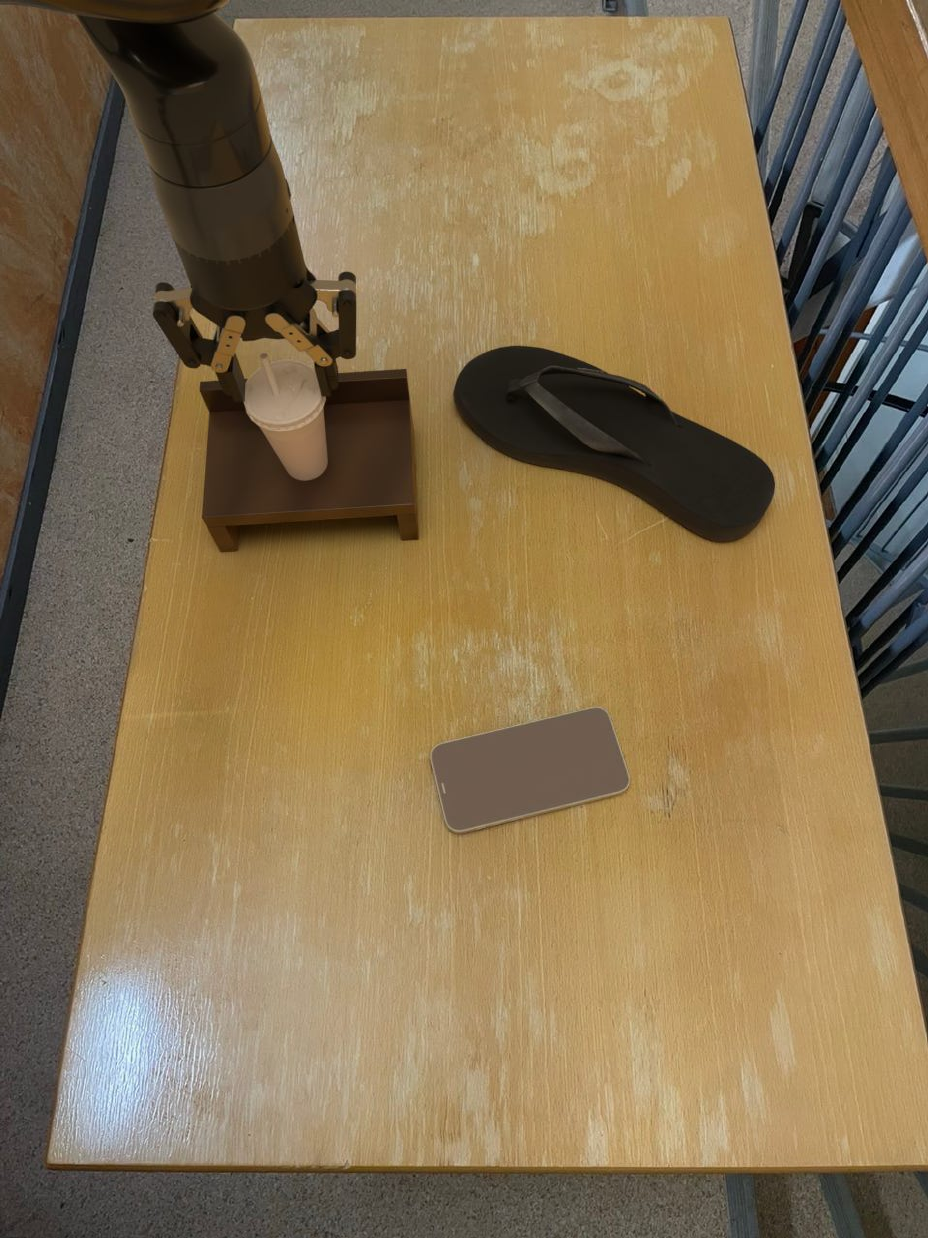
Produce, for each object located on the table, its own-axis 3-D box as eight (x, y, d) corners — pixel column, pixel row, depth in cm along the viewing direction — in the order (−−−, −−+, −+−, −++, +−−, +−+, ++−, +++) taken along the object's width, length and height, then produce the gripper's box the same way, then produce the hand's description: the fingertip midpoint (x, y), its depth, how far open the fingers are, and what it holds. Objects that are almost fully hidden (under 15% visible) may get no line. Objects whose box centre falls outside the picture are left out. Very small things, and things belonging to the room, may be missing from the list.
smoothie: (255, 459, 80) (209, 349, 67) (314, 420, 82) (280, 304, 69) (298, 507, 78) (258, 401, 65) (358, 465, 79) (331, 354, 67)
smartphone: (634, 789, 72) (448, 835, 71) (632, 792, 73) (448, 838, 72) (605, 703, 75) (427, 745, 74) (604, 706, 76) (427, 748, 75)
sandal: (747, 556, 82) (768, 517, 76) (432, 439, 88) (428, 394, 82) (789, 448, 86) (811, 403, 80) (487, 344, 92) (487, 295, 86)
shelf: (220, 552, 83) (190, 498, 75) (226, 442, 88) (199, 381, 80) (418, 539, 83) (411, 484, 75) (413, 431, 88) (406, 368, 80)
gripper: (104, 264, 54) (187, 436, 69) (348, 249, 54) (378, 424, 69) (116, 174, 57) (194, 357, 72) (347, 160, 57) (376, 346, 73)
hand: (284, 389), depth 71 cm, fingers closed on smoothie, 6 cm apart
